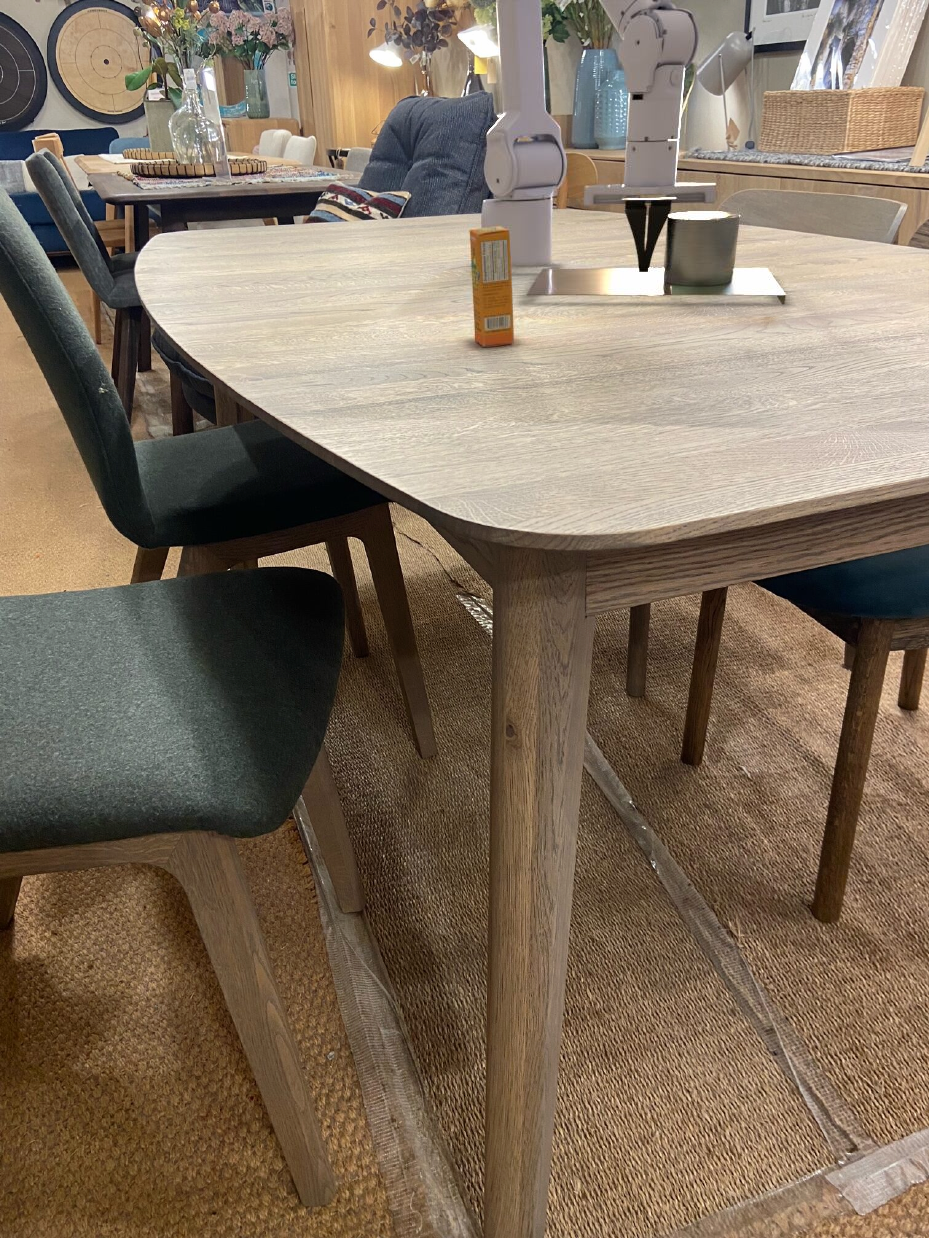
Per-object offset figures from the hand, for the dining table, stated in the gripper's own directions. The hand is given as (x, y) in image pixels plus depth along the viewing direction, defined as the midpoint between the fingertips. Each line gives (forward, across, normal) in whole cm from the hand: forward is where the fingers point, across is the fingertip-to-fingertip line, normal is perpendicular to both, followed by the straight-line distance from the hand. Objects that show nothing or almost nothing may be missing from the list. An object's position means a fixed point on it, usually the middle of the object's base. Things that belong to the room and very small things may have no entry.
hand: (643, 271), depth 105 cm
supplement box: (+2, -14, -28) cm, 31 cm away
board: (+2, +1, 0) cm, 2 cm away
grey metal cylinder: (+1, +6, 0) cm, 6 cm away
